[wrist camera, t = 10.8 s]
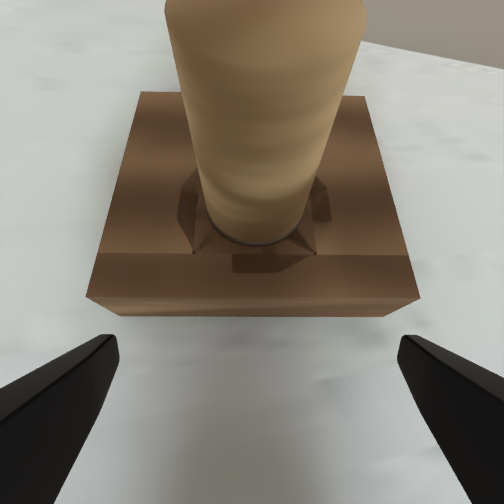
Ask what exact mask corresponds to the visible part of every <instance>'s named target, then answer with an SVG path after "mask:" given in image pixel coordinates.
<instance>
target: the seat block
mask: <svg viewBox="0 0 504 504" xmlns="http://www.w3.org/2000/svg"><path fill="white" fill-rule="evenodd" d="M86 297H87V298H89V299H90V300H92V301H94V302H96V303H98V304H99V305H101V306H103V307H105V308H106V309H108V310H110V311H112V312H114V313H115V314H117V315H119V316H253V317H384V316H386V315H388V314H390V313H392V312H394V311H396V310H398V309H400V308H402V307H404V306H406V305H408V304H410V303H412V302H414V301H416V300H418V299H420V295H419V291H418V288H417V284H416V280H415V277H414V273H413V270H412V266H411V262H410V259H409V255H408V252H407V248H406V244H405V241H404V237H403V234H402V230H401V226H400V223H399V219H398V216H397V212H396V208H395V205H394V201H393V197H392V194H391V190H390V187H389V183H388V179H387V176H386V172H385V169H384V165H383V161H382V158H381V154H380V151H379V147H378V143H377V140H376V136H375V133H374V129H373V125H372V122H371V118H370V114H369V111H368V107H367V104H366V100H365V96H342V99H341V102H340V105H339V108H338V111H337V114H336V117H335V119H334V122H333V125H332V128H331V131H330V134H329V137H328V140H327V143H326V146H325V149H324V152H323V155H322V158H321V161H320V164H319V167H318V170H317V173H316V176H315V179H314V182H313V185H312V188H311V191H310V194H309V197H308V200H307V203H306V206H305V209H304V212H303V216H302V219H301V221H300V223H299V225H298V227H297V228H296V229H295V231H294V232H293V233H292V234H291V235H290V236H288V237H287V238H285V239H284V240H282V241H280V242H278V243H276V244H273V245H269V246H264V247H248V246H243V245H239V244H236V243H234V242H231V241H229V240H228V239H226V238H224V237H223V236H222V235H220V234H219V233H218V232H217V231H216V230H215V228H214V227H213V226H212V224H211V222H210V220H209V217H208V214H207V209H206V203H205V198H204V194H203V189H202V185H201V180H200V175H199V171H198V166H197V161H196V157H195V152H194V147H193V143H192V138H191V133H190V129H189V124H188V120H187V115H186V110H185V106H184V101H183V96H182V92H141V93H140V97H139V101H138V104H137V108H136V112H135V115H134V119H133V123H132V126H131V130H130V134H129V138H128V141H127V145H126V149H125V152H124V156H123V160H122V164H121V167H120V171H119V175H118V178H117V182H116V186H115V190H114V193H113V197H112V201H111V204H110V208H109V212H108V216H107V219H106V223H105V227H104V230H103V234H102V238H101V242H100V245H99V249H98V253H97V256H96V260H95V264H94V267H93V271H92V275H91V279H90V282H89V286H88V290H87V293H86Z"/></svg>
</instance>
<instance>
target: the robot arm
mask: <svg viewBox="0 0 504 504" xmlns="http://www.w3.org/2000/svg"><path fill="white" fill-rule="evenodd" d="M119 359H120V356H119V350H118V344H117V339H116V336H115V335H113V334H101V335H99V336H97V337H95V338H93V339H91V340H89V341H87V342H86V343H84V344H82V345H80V346H78V347H76V348H75V349H73V350H71V351H69V352H67V353H65V354H63V355H62V356H60V357H58V358H56V359H54V360H52V361H50V362H49V363H47V364H45V365H43V366H41V367H39V368H37V369H36V370H34V371H32V372H30V373H28V374H26V375H25V376H23V377H21V378H19V379H17V380H15V381H13V382H12V383H10V384H8V385H6V386H4V387H2V388H0V504H54V502H55V500H56V498H57V496H58V494H59V492H60V490H61V488H62V486H63V484H64V482H65V480H66V478H67V476H68V474H69V472H70V470H71V468H72V466H73V464H74V462H75V461H76V459H77V457H78V455H79V453H80V451H81V449H82V447H83V445H84V443H85V441H86V439H87V437H88V435H89V433H90V431H91V429H92V427H93V425H94V423H95V421H96V419H97V417H98V415H99V413H100V410H101V408H102V406H103V403H104V401H105V398H106V395H107V393H108V390H109V388H110V385H111V382H112V380H113V377H114V375H115V372H116V370H117V367H118V364H119ZM397 361H398V365H399V367H400V369H401V371H402V374H403V376H404V378H405V380H406V383H407V385H408V387H409V389H410V391H411V394H412V396H413V398H414V400H415V402H416V405H417V407H418V409H419V411H420V413H421V415H422V416H423V418H424V420H425V422H426V424H427V425H428V427H429V429H430V431H431V432H432V434H433V436H434V438H435V439H436V441H437V443H438V445H439V446H440V448H441V450H442V452H443V453H444V455H445V457H446V459H447V461H448V462H449V464H450V466H451V468H452V469H453V471H454V473H455V475H456V476H457V478H458V480H459V482H460V483H461V485H462V487H463V489H464V490H465V492H466V494H467V496H468V497H469V499H470V501H471V503H472V504H504V378H503V377H501V376H499V375H497V374H495V373H493V372H491V371H489V370H487V369H485V368H483V367H481V366H479V365H477V364H475V363H473V362H471V361H469V360H467V359H465V358H463V357H461V356H459V355H457V354H455V353H453V352H451V351H448V350H446V349H444V348H442V347H440V346H438V345H436V344H434V343H432V342H430V341H428V340H426V339H424V338H422V337H420V336H418V335H404V336H402V338H401V341H400V346H399V350H398V355H397Z"/></svg>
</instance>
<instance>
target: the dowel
mask: <svg viewBox="0 0 504 504" xmlns="http://www.w3.org/2000/svg"><path fill="white" fill-rule="evenodd" d="M164 12H165V17H166V22H167V27H168V31H169V36H170V41H171V45H172V50H173V55H174V59H175V64H176V69H177V73H178V78H179V82H180V87H181V92H182V96H183V101H184V106H185V110H186V115H187V120H188V124H189V129H190V133H191V138H192V143H193V147H194V152H195V157H196V161H197V166H198V171H199V175H200V180H201V185H202V189H203V194H204V198H205V203H206V209H207V214H208V217H209V220H210V222H211V224H212V226H213V227H214V228H215V230H216V231H217V232H218V233H219V234H220V235H222V236H223V237H224V238H226V239H228V240H229V241H231V242H234V243H236V244H239V245H243V246H248V247H264V246H269V245H273V244H276V243H278V242H280V241H282V240H284V239H285V238H287V237H288V236H290V235H291V234H292V233H293V232H294V231H295V229H296V228H297V227H298V225H299V223H300V221H301V219H302V216H303V212H304V209H305V206H306V203H307V200H308V197H309V194H310V191H311V188H312V185H313V182H314V179H315V176H316V173H317V170H318V167H319V164H320V161H321V158H322V155H323V152H324V149H325V146H326V143H327V140H328V137H329V134H330V131H331V128H332V125H333V122H334V119H335V117H336V114H337V111H338V108H339V105H340V102H341V99H342V96H343V93H344V90H345V87H346V84H347V81H348V78H349V75H350V72H351V69H352V66H353V63H354V60H355V57H356V54H357V51H358V48H359V45H360V42H361V39H362V36H363V33H364V30H365V27H366V23H367V13H366V10H365V7H364V5H363V3H362V1H361V0H166V3H165V11H164Z"/></svg>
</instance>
